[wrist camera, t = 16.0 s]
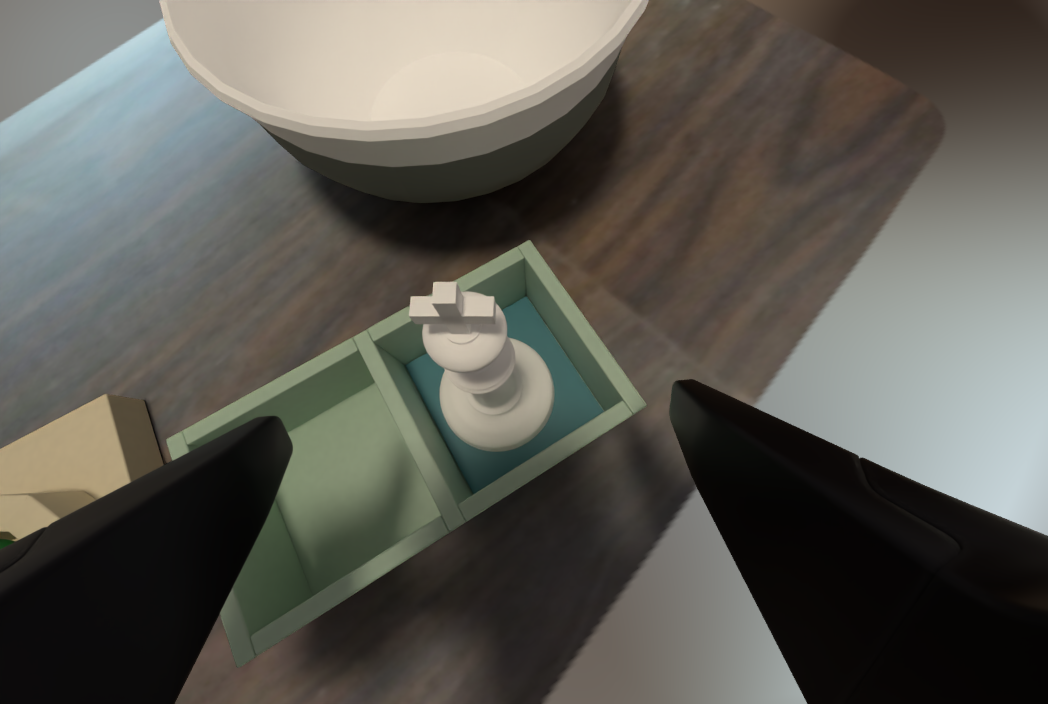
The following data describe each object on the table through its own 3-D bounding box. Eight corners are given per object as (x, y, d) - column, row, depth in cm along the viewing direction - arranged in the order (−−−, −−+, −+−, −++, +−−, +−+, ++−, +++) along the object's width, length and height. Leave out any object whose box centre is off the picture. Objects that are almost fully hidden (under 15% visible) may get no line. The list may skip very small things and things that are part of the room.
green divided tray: (531, 286, 19) (529, 239, 15) (622, 419, 17) (648, 405, 13) (249, 445, 17) (164, 439, 13) (314, 616, 15) (236, 669, 11)
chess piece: (445, 339, 17) (333, 183, 8) (553, 339, 17) (575, 180, 8) (436, 451, 16) (288, 426, 6) (554, 452, 16) (582, 429, 6)
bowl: (225, 157, 22) (49, -18, 14) (435, -27, 26) (391, -244, 18) (479, 338, 18) (435, 239, 10) (678, 91, 22) (757, -116, 14)
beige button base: (204, 593, 15) (111, 628, 12) (1, 716, 14) (-160, 791, 11) (144, 399, 18) (54, 384, 15) (-32, 493, 17) (-173, 500, 14)
